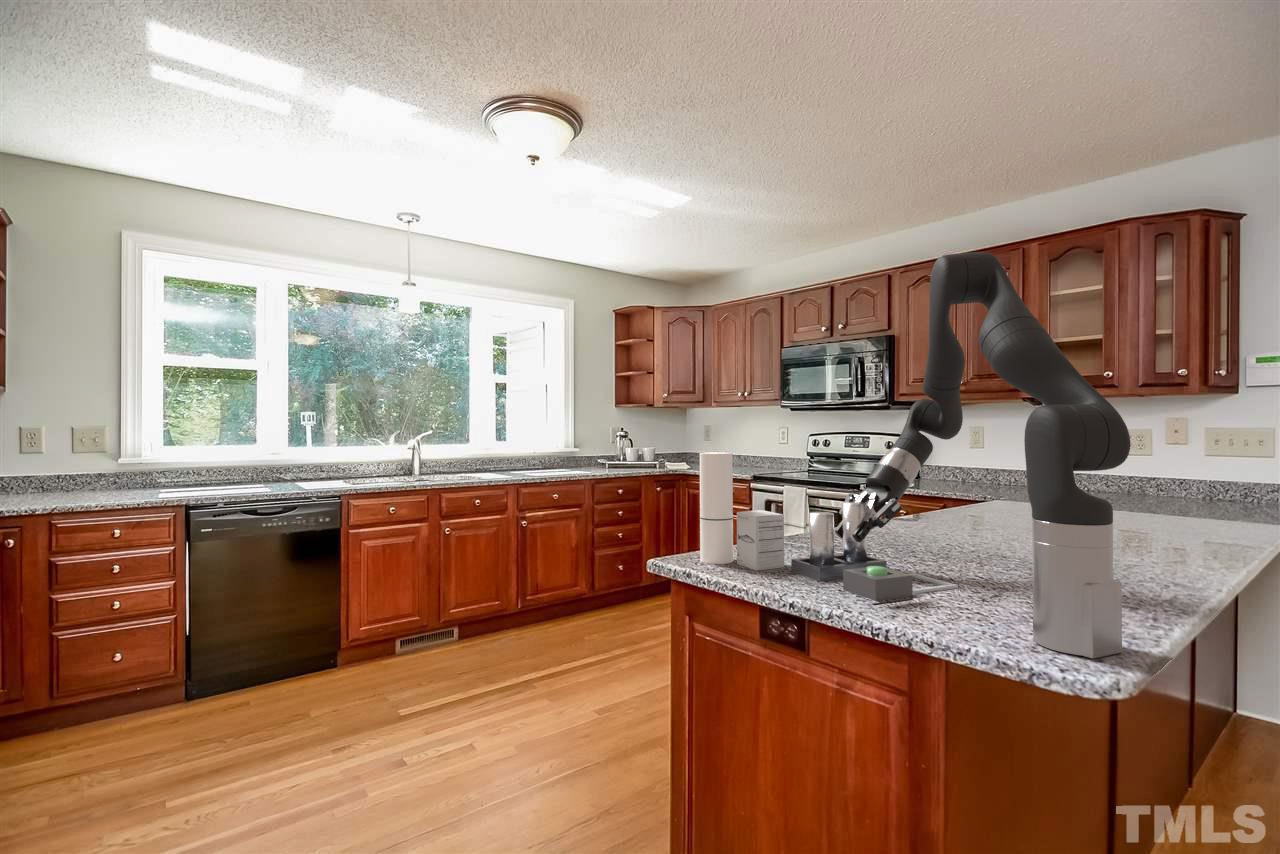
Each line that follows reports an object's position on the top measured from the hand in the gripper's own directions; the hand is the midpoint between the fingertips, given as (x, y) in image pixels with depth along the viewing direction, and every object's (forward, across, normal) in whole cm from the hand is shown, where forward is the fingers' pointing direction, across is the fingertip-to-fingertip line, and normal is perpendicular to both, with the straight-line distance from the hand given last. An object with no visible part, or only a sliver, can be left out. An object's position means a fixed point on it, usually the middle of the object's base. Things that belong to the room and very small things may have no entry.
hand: (847, 536), depth 125 cm
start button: (+8, +15, 0) cm, 17 cm away
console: (+10, +15, +2) cm, 18 cm away
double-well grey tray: (+8, 0, +4) cm, 9 cm away
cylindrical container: (+19, -20, -7) cm, 29 cm away
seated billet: (+9, 0, 0) cm, 9 cm away
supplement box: (+15, -12, -3) cm, 20 cm away
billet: (+2, 0, +5) cm, 6 cm away
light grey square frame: (+3, +13, +9) cm, 16 cm away
